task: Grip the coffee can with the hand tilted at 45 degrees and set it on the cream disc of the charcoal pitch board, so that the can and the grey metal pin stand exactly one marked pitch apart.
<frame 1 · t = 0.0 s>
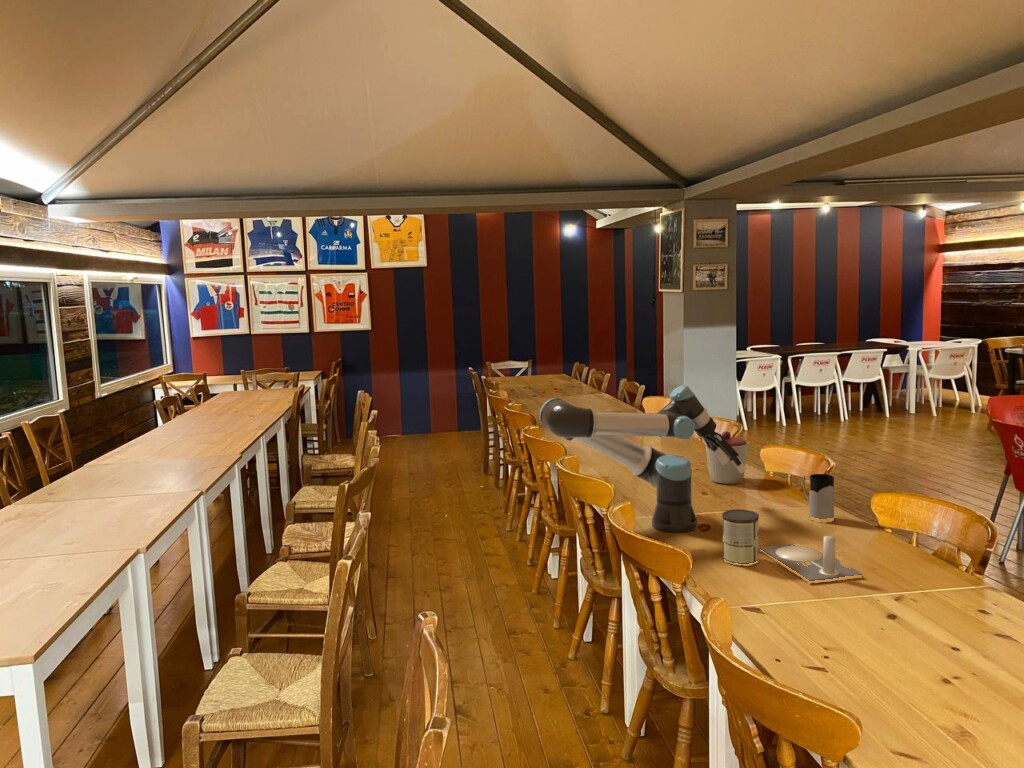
hand: (734, 466, 269), 15 cm above the table, tool tilted 35°, fingers open, 13 cm apart
pitch board: (808, 563, 214), on the table
glass holder: (816, 517, 257), on the table
coffee can: (740, 561, 219), on the table
canister: (726, 481, 308), on the table
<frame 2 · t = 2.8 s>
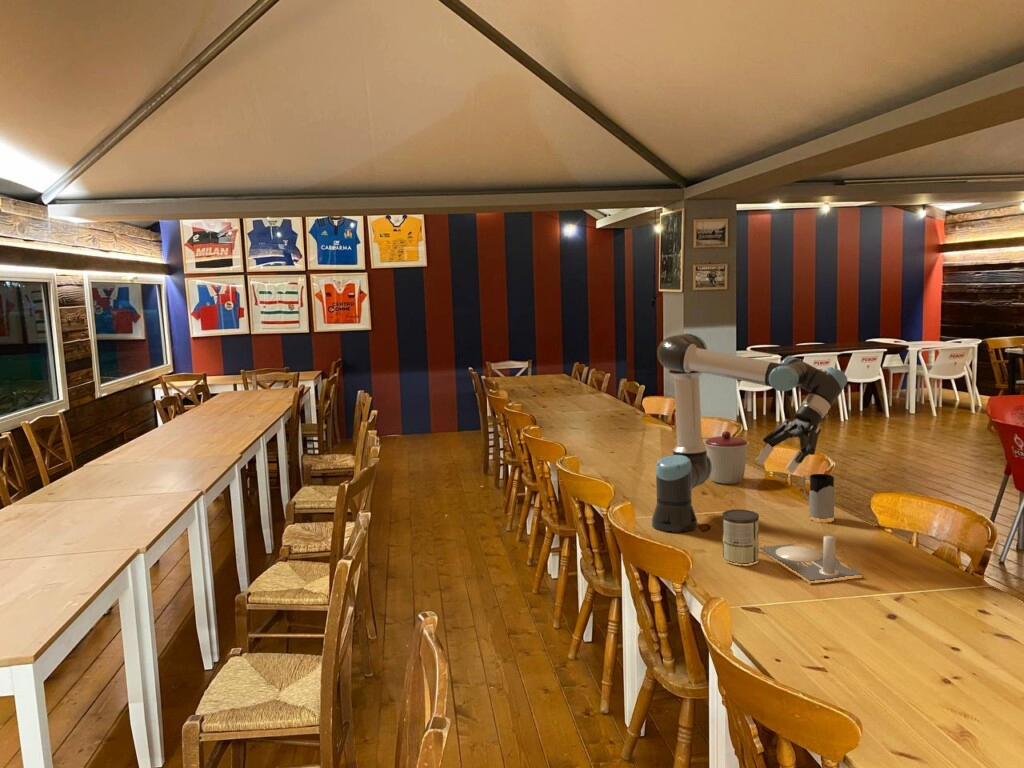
hand: (773, 466, 225), 26 cm above the table, tool tilted 45°, fingers open, 13 cm apart
nothing on the table moved.
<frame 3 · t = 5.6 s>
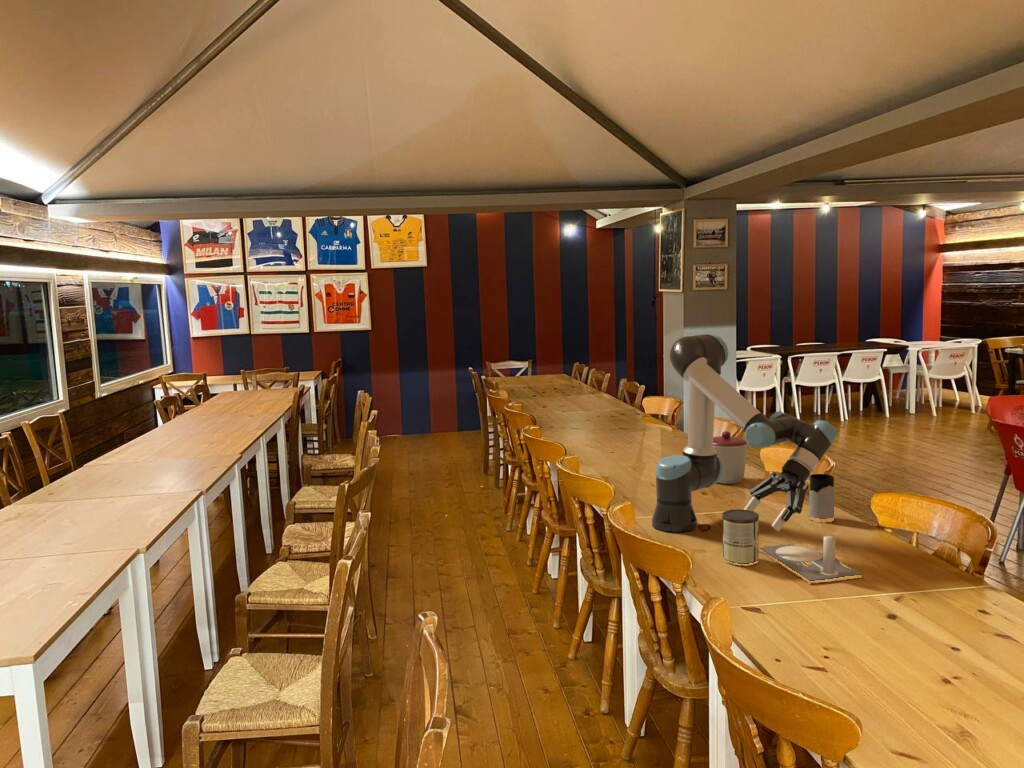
hand: (759, 522, 218), 11 cm above the table, tool tilted 45°, fingers open, 13 cm apart
nothing on the table moved.
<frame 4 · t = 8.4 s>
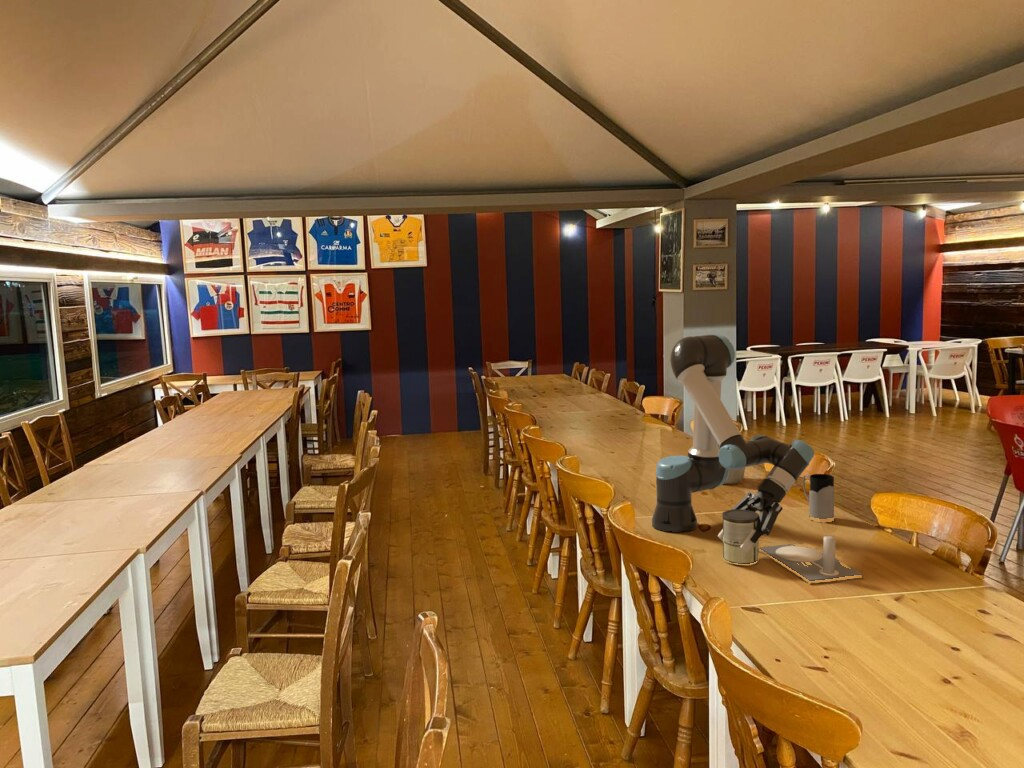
hand: (731, 544, 217), 5 cm above the table, tool tilted 45°, fingers closed on coffee can, 10 cm apart
coffee can: (740, 560, 219), on the table, touching gripper
everything else where it was.
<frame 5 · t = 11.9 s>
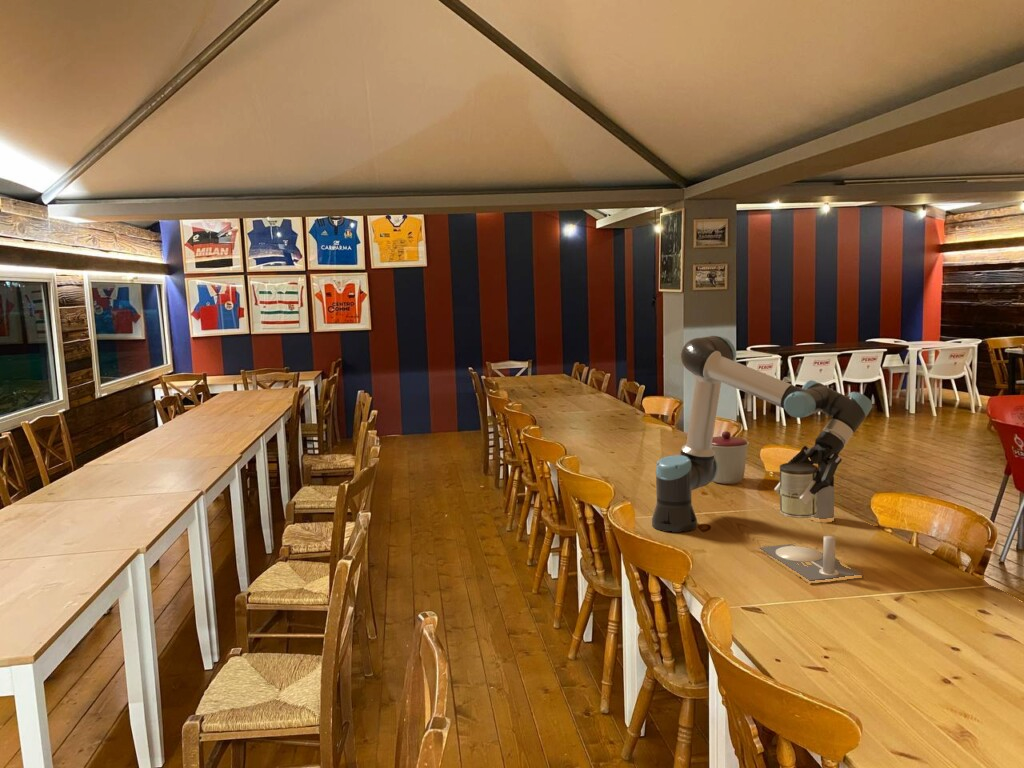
hand: (789, 496, 215), 19 cm above the table, tool tilted 45°, fingers closed on coffee can, 10 cm apart
coffee can: (798, 513, 217), point 14 cm above the table, touching gripper
everything else where it was.
when the fingers open (8 cm above the table, at t = 15.5 s): coffee can drops 1 cm, resting on pitch board.
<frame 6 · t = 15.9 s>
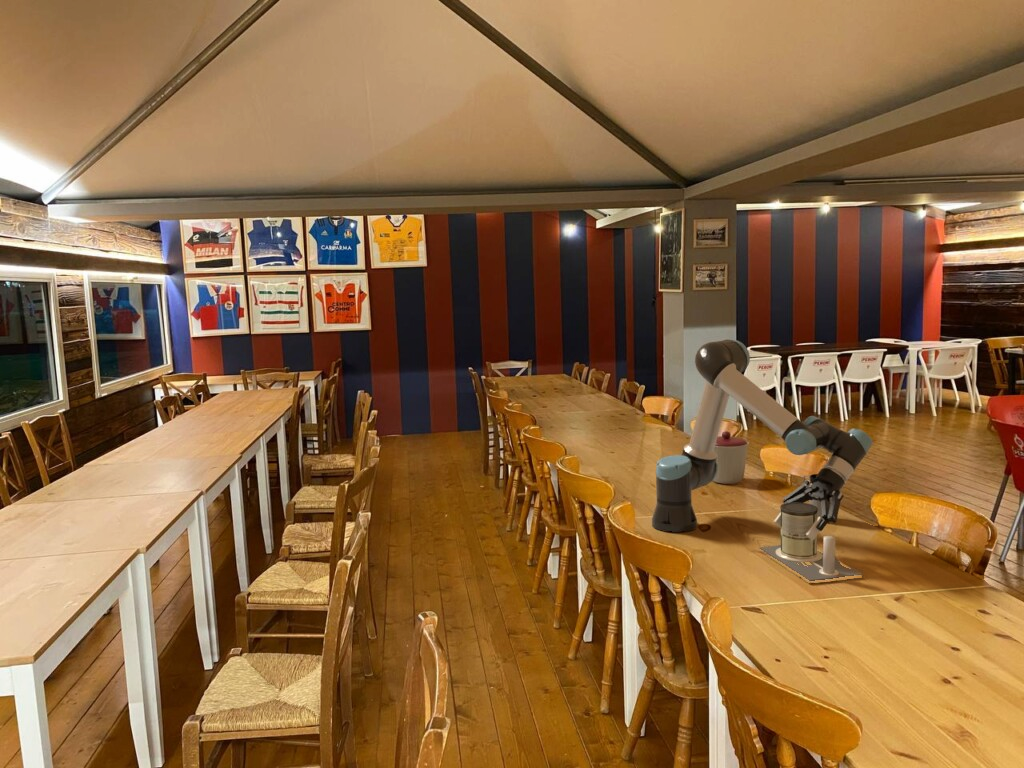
hand: (792, 530, 217), 9 cm above the table, tool tilted 45°, fingers open, 13 cm apart
coffee can: (798, 553, 219), point 1 cm above the table, touching pitch board
everything else where it was.
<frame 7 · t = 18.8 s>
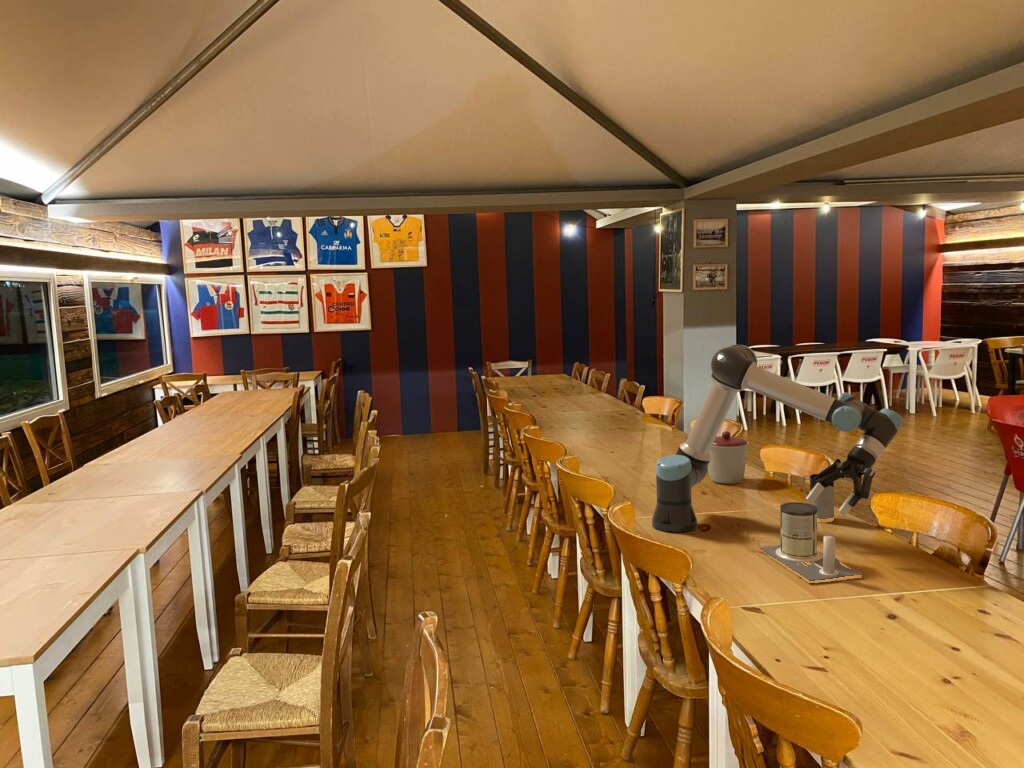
hand: (824, 507, 223), 13 cm above the table, tool tilted 45°, fingers open, 13 cm apart
nothing on the table moved.
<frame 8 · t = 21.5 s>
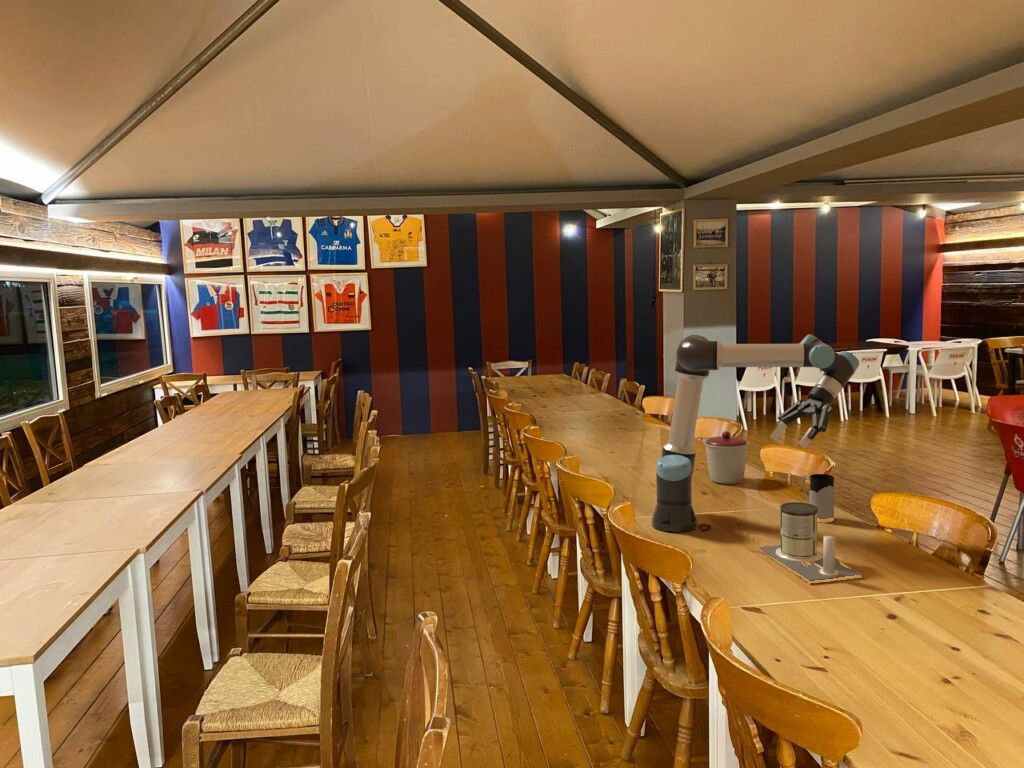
hand: (786, 442, 240), 30 cm above the table, tool tilted 45°, fingers open, 13 cm apart
nothing on the table moved.
at the end: coffee can 0.2 cm from the target spot on the pitch board, point 1.2 cm above the pitch board's base; coffee can tilted 0°; the gripper is holding nothing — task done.
